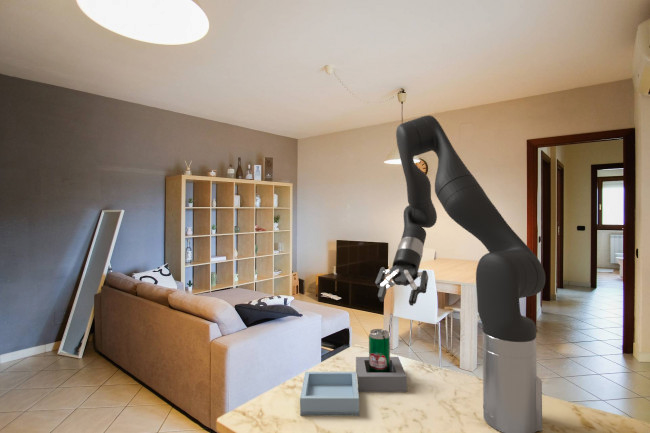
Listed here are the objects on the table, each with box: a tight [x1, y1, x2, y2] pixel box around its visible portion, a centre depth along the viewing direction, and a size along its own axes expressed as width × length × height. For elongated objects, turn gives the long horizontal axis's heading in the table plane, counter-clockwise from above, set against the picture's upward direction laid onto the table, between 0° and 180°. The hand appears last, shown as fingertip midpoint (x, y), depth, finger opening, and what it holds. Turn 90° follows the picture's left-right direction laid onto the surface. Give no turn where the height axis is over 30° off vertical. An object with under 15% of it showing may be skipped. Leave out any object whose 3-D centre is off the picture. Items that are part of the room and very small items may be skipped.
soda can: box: [368, 328, 391, 373], centre depth 86 cm, size 5×5×12 cm
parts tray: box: [299, 371, 360, 417], centre depth 77 cm, size 12×12×4 cm
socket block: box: [355, 356, 408, 393], centre depth 86 cm, size 11×11×4 cm
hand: (395, 302), depth 96 cm, fingers open, 8 cm apart
